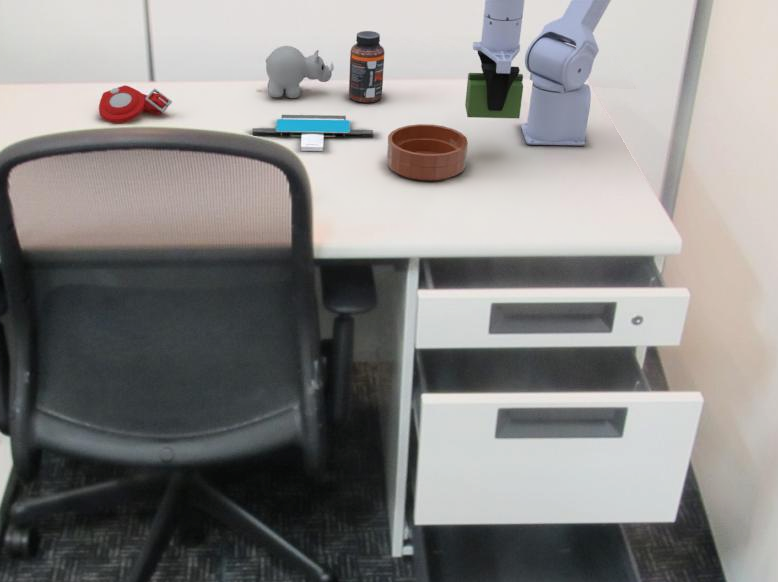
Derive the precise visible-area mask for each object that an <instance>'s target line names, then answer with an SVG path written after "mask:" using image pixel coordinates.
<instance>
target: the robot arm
mask: <svg viewBox="0 0 778 582" xmlns="http://www.w3.org/2000/svg"><path fill="white" fill-rule="evenodd" d="M611 2H612V0H571V1H570V2H569V4H568V6H567V8H566V10H565V11H564V13H563V15H562V16H561V17H559V18H558V19H555V20H553V21H551V22H548V23H546V24H545V25H544V26H543V28H542V30H541V32H540V33H539V34H538V35H537V36H536V37H535V38H534V39H533V40H532V41H530V42H531V43H529V45H528V47H527V49H526V52H525V56H524V65H525V69H526V70H527V72H529V74H530V75H529V80H530V81H531V82H532V85H531V91H530V99H529V107H528V115H527V120H526V121H527V123H525V122H524V123H521V124H520V128H521V131H522V134H523V138H524V140H525V143H526V144H527V145H538V146H539V145H542V146H543V145H544V146H585V145H586V141H585V140H586V134H587V128H588V121H589V115H590V110H591V101H592V100H591V99H592V95H591V94H592V92H591V87H590V85H589V84H586V82H587V80H588V79H589V78H590V75H591V73H592V68H593V65H594V63H595V60H596V57H597V55H598V54H599V50H600V49H599V46H598V43H597V41H596V37H595V36H594V32H595V29H596V28H597V26H598V25H599V22H600V21H601V19H602V17H603V16H604V14H605V12H606V10H607V9H608V7H609V5H610V3H611ZM524 8H525V0H485V1H484V10H483V18H482V19H483V21H482V31H481V39H480V41H474V42H473V43H472V48H473V50H474V51H477V55H478V57H479V60H480V67H481V71H482V73H483V74H484V76H485V80H486V87H487V105H488V110H489V111H502V109H503V107H504V104H505V101H506V98H507V95H508V92H509V89H510V87H511V85H512V83H513V81H514V80H515V78H516V77H517V76H518V74H520V71H521V70H520V67H519V66H512V62H513V60H514V59H515V58H516V57H517V56H518V54H519V53H520V51H521V44H520V41H521V33H522V24H523V15H524Z"/></svg>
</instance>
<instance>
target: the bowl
mask: <svg viewBox="0 0 778 582" xmlns="http://www.w3.org/2000/svg"><path fill="white" fill-rule="evenodd" d="M386 147H387V148H386V165H387V166H388V167H389V168H390V170H391V171H393V172H395V173H397V174H398V175H400V176H402V177H404V178H407V179H411V180H416V181H425V182H426V181H427V182H428V181H429V182H430V181H432V182H435V181H441V180H446V179H449V178H451V177H455V176H457V175H459V174H460V173H462V172H463V171H464V169H465V167H466V163H467V153H468V139H467V136H466V135H464V134H463V133H462V132H461V131H458V130H456V129H454V128H452V127H447V126H444V125H438V124H427V123H426V124H425V123H423V124H421V123H419V124H410V125H405V126H401V127H398V128H396V129H394V130H392V131H391V132H390V133H389V134H388V136H387V145H386Z"/></svg>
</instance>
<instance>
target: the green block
mask: <svg viewBox="0 0 778 582" xmlns="http://www.w3.org/2000/svg"><path fill="white" fill-rule="evenodd" d="M523 81H524V75H523V73H519V74H518V76H517V77H516V78H515V80H514V81H513V83H512V85H511V87H510V89H509V92H508V95H507V98H506V101H505V104H504V107H503V109H502V111H489V110H488V105H487V87H486V80H485V76H484V74H483V72H469V73H468V74H467V82H466V83H467V84H466V92H465V102H464V107H465V111H466V116H467V118H477V119H478V118H481V119H482V118H485V119H491V118H492V119H520V116H521V108H522V100H523V91H524V84H523Z"/></svg>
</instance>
